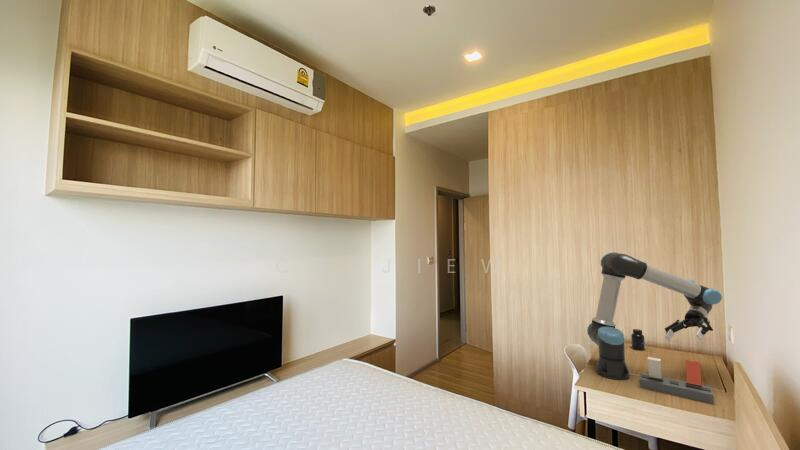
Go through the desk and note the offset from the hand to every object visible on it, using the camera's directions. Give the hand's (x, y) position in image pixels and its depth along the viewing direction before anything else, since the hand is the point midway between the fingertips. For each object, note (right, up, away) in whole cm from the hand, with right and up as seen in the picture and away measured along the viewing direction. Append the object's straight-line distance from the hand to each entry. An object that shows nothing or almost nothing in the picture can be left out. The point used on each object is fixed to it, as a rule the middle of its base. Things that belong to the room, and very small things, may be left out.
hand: (682, 337), depth 161 cm
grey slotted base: (-10, -23, -8) cm, 26 cm away
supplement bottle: (+12, -24, +47) cm, 54 cm away
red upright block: (-5, -18, -12) cm, 22 cm away
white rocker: (-16, -18, -3) cm, 24 cm away
